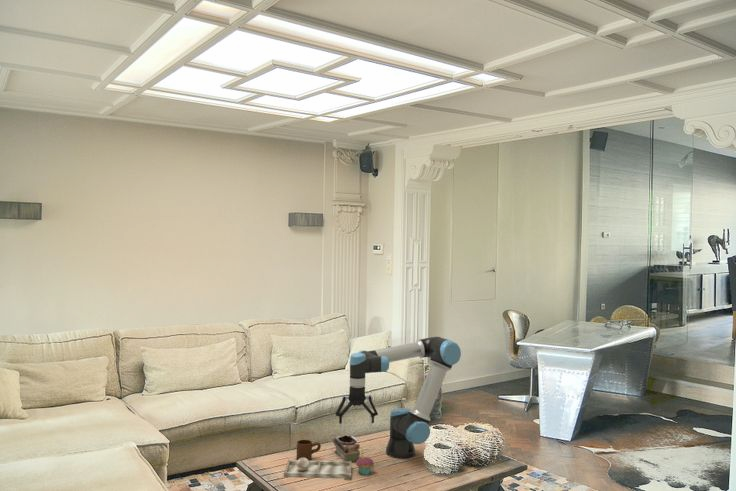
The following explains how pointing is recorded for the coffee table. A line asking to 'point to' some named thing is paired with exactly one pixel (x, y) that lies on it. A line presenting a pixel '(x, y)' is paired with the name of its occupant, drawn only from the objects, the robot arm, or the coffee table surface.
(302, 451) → the mug
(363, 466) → the cupcake
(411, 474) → the coffee table surface
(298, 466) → the wooden egg
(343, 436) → the decorative box
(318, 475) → the divided tray
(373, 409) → the robot arm
